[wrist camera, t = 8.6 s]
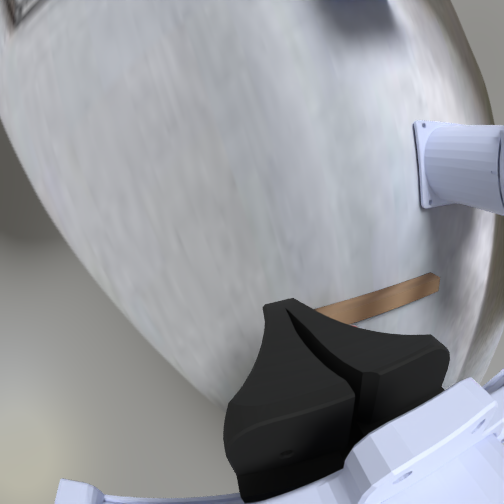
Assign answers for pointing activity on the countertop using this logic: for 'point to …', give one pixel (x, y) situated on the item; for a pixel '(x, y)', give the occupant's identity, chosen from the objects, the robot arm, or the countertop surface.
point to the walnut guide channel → (382, 299)
